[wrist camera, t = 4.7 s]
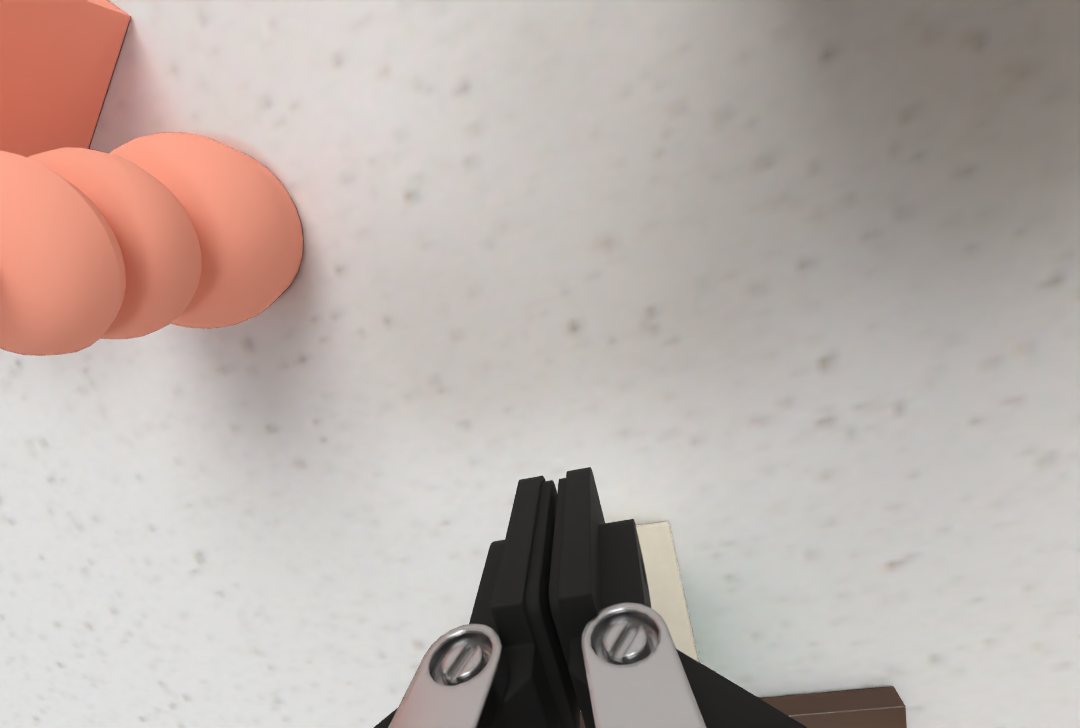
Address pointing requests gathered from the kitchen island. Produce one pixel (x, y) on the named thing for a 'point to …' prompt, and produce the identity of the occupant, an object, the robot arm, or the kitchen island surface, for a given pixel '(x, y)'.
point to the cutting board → (841, 708)
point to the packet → (666, 583)
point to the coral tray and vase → (119, 201)
